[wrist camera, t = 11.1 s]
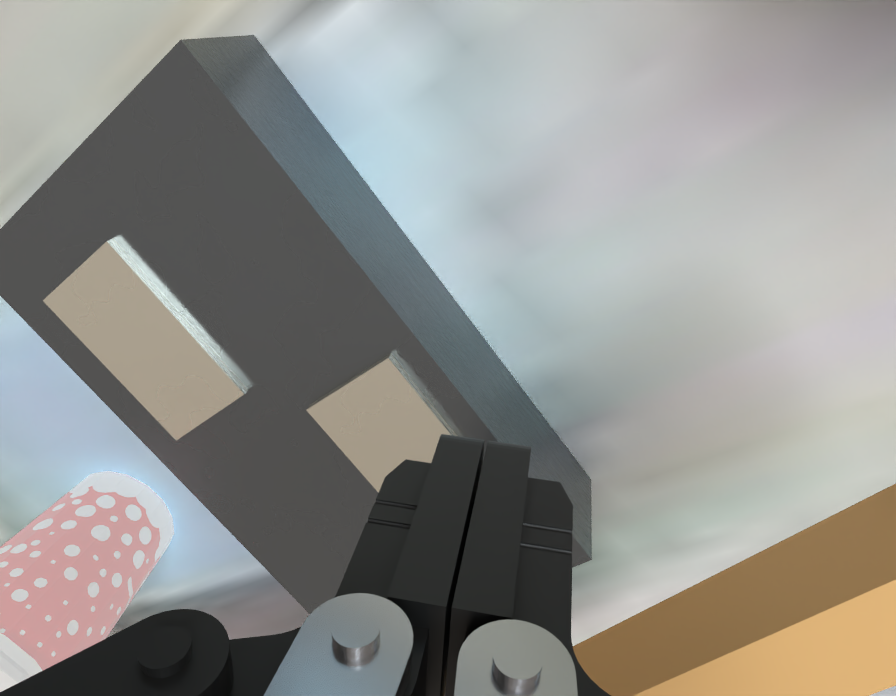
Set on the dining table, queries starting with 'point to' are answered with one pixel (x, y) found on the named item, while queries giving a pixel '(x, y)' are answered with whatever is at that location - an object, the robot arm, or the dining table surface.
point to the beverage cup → (77, 571)
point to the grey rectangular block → (259, 313)
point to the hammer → (770, 620)
